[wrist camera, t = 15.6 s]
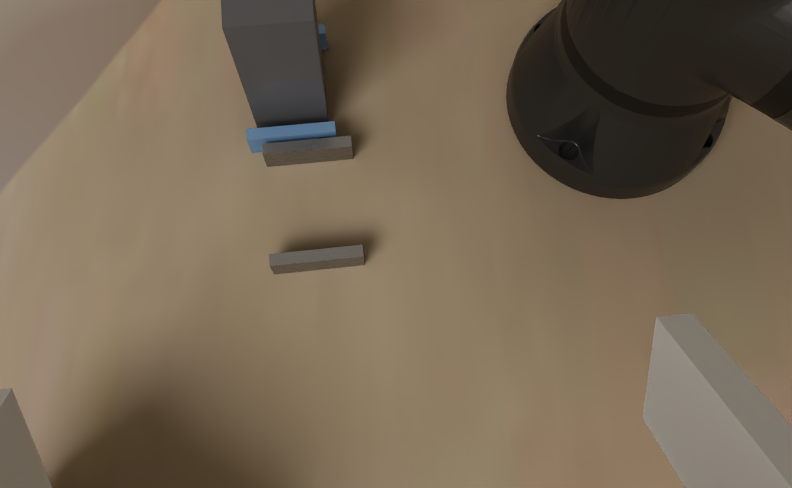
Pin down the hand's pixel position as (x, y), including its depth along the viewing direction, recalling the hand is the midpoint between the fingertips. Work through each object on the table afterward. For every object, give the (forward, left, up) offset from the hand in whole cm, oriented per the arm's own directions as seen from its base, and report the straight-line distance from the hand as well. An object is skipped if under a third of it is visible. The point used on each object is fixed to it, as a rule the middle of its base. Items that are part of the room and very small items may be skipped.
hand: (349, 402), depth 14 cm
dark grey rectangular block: (+3, -25, -30) cm, 39 cm away
